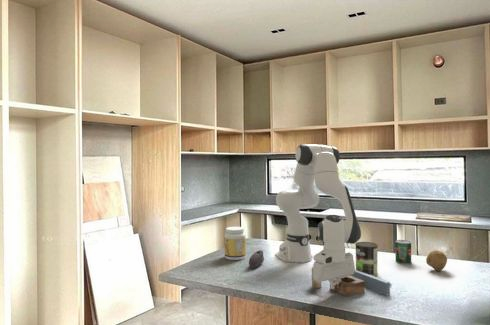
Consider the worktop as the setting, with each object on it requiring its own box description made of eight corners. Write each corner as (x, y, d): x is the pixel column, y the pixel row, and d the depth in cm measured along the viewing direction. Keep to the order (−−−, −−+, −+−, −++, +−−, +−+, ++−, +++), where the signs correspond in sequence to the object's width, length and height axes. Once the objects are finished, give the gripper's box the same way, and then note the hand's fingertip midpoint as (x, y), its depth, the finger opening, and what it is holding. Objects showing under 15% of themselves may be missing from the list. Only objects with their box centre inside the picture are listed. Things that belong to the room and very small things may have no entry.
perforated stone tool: (254, 271, 176) (254, 257, 176) (244, 269, 179) (244, 256, 179) (266, 263, 190) (266, 250, 190) (257, 262, 192) (257, 249, 192)
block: (330, 288, 151) (329, 278, 151) (347, 284, 156) (347, 274, 156) (347, 296, 142) (347, 285, 142) (364, 291, 147) (364, 281, 147)
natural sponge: (426, 272, 172) (426, 251, 172) (426, 267, 179) (426, 247, 179) (447, 274, 167) (447, 253, 167) (446, 269, 175) (446, 249, 175)
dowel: (310, 285, 155) (309, 267, 155) (317, 284, 157) (316, 266, 156) (316, 288, 151) (315, 270, 151) (323, 287, 153) (323, 268, 153)
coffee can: (365, 277, 165) (364, 247, 165) (351, 271, 174) (350, 242, 174) (382, 274, 168) (382, 245, 168) (368, 268, 178) (367, 240, 178)
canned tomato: (414, 264, 185) (414, 243, 185) (399, 264, 185) (398, 243, 185) (407, 259, 193) (407, 239, 193) (393, 259, 193) (392, 239, 193)
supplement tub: (221, 256, 204) (221, 227, 204) (240, 253, 209) (240, 225, 209) (229, 261, 193) (229, 231, 193) (249, 259, 198) (249, 229, 198)
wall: (343, 278, 164) (343, 267, 164) (347, 277, 165) (346, 266, 165) (386, 295, 143) (386, 282, 143) (389, 294, 144) (389, 282, 144)
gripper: (347, 250, 153) (347, 281, 153) (310, 256, 144) (310, 290, 144) (358, 253, 148) (358, 286, 148) (320, 260, 138) (320, 295, 138)
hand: (334, 288), depth 146 cm, fingers closed
